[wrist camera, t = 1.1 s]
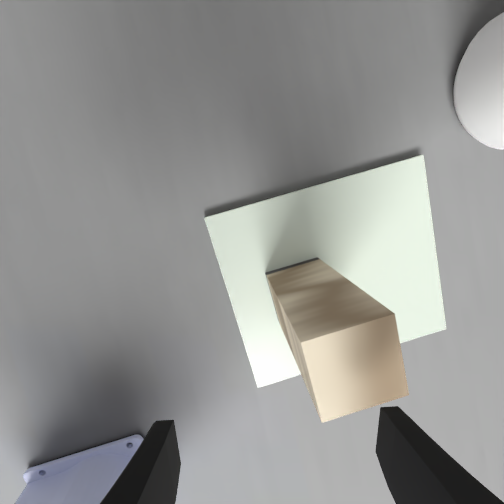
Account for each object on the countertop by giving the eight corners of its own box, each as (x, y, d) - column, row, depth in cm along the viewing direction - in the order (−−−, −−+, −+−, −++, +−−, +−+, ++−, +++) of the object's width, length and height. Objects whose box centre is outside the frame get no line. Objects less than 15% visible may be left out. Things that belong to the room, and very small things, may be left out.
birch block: (278, 321, 23) (321, 422, 13) (264, 272, 22) (300, 342, 12) (328, 306, 23) (409, 395, 13) (317, 257, 22) (394, 313, 12)
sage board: (257, 383, 24) (257, 387, 24) (204, 217, 21) (204, 218, 20) (441, 325, 25) (446, 328, 24) (417, 155, 22) (423, 154, 21)
